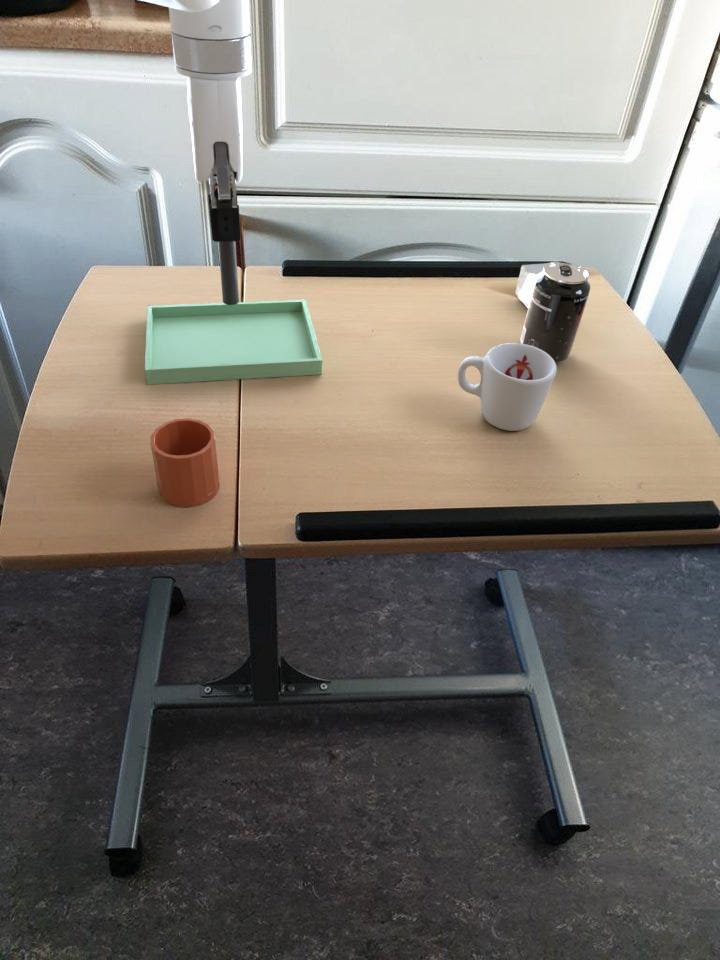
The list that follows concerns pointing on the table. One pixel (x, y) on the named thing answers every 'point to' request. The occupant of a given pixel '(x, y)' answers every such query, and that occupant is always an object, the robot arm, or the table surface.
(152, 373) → the tray
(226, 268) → the marker
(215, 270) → the table surface
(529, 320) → the beverage can
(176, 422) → the pen cup
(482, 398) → the cup
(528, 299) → the small box
